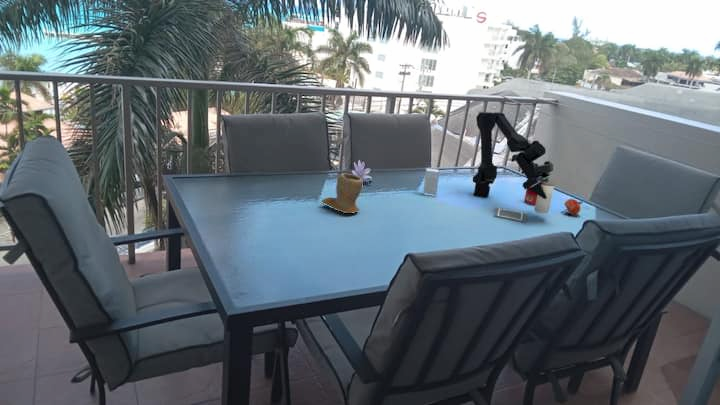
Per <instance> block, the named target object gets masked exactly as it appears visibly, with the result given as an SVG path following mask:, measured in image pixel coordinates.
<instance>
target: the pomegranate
mask: <svg viewBox="0 0 720 405" xmlns="http://www.w3.org/2000/svg"><path fill="white" fill-rule="evenodd" d="M581 204H583V201H578V200H576V199H574V198H573V199H572V198H569V199H567V201H565V202H564V206H565V207H566V209H564V210H563V211H560V213H563V212H566V211H568V213H569V214H570V215H571V216H576V215H578V214H580V211H581V209H582V208H581Z"/></svg>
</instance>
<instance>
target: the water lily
mask: <svg viewBox="0 0 720 405" xmlns="http://www.w3.org/2000/svg"><path fill="white" fill-rule="evenodd" d="M353 165H354V169H353V170H351V174H352V175H355V176H358V177H360V178H361V179H362V180H363V182H365V180H364V179H366V178H370V179H372V176H370V175H368V174H370V172H371V168H369V167H368V168H365V161H362V162H361V160H360V159H359V160H358V162H357V163H356V162H353ZM366 180H367V179H366Z"/></svg>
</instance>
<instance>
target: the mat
mask: <svg viewBox="0 0 720 405" xmlns="http://www.w3.org/2000/svg"><path fill="white" fill-rule="evenodd" d="M493 218H500V219H504V220H510V221H515V222H520V223H523V224H525V223H526V221H527V213H526V212H521V211H516V210H510V209H505V208H500V207H495V210H494V213H493Z"/></svg>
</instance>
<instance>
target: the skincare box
mask: <svg viewBox="0 0 720 405" xmlns="http://www.w3.org/2000/svg"><path fill="white" fill-rule="evenodd" d="M424 175H425V176H424V186H423V191H424V193H427V194H433V195H436V196H437V193H438V187H439V186H438V184H439V179H440V177H439V176H440V170H439V169H433V168H426V169H425V174H424Z"/></svg>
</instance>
